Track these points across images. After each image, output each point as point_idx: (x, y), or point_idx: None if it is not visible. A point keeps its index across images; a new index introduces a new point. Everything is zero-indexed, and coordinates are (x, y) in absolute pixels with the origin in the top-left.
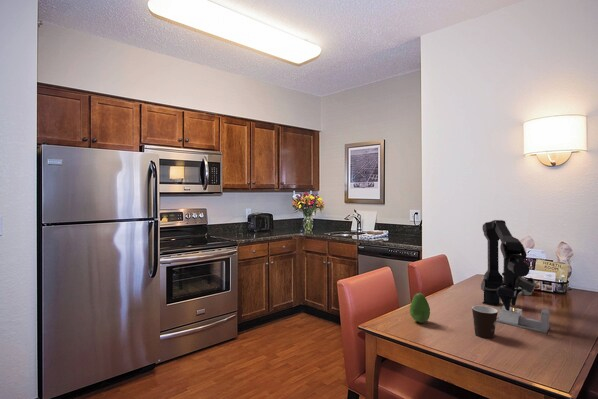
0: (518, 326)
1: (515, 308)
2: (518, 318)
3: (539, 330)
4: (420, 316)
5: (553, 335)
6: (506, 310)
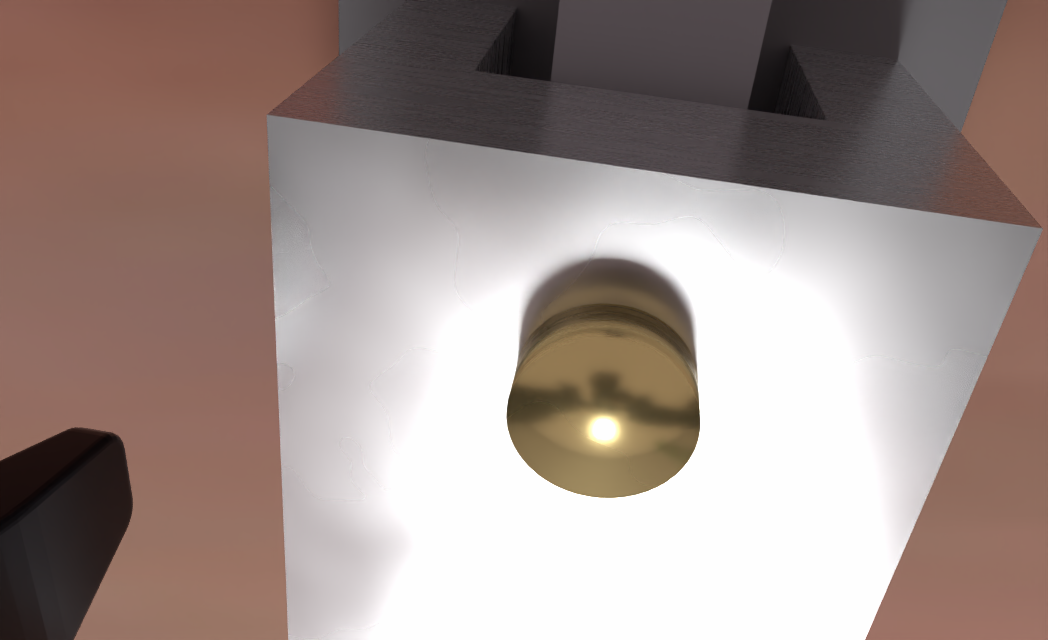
0: (993, 36)
1: (563, 394)
2: (904, 120)
3: None
4: None
5: None
6: (871, 616)
